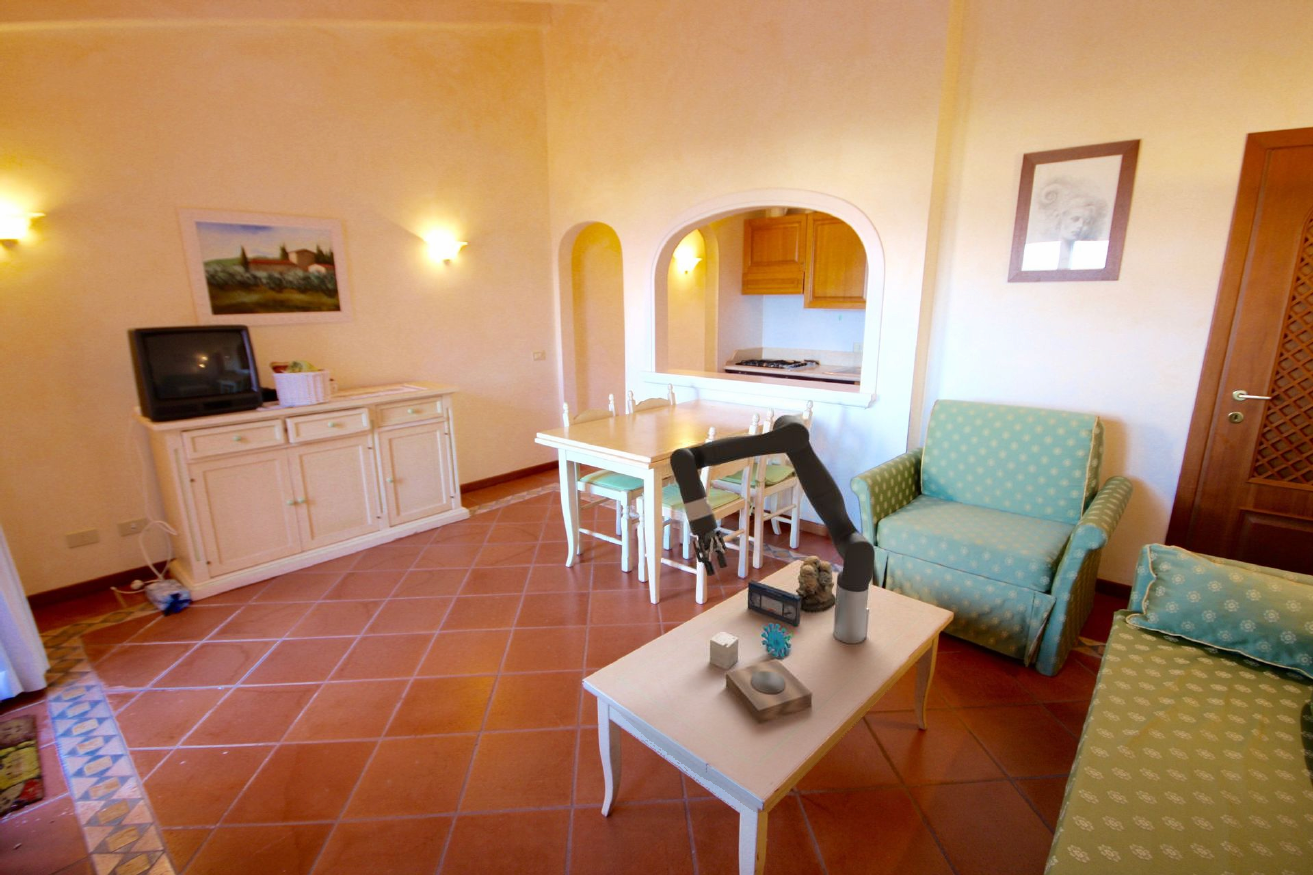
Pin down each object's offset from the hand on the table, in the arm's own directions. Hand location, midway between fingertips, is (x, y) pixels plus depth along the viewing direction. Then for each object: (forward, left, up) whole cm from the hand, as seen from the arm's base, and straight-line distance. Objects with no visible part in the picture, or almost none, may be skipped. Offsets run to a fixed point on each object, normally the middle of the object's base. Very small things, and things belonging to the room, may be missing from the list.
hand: (718, 571), depth 165 cm
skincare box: (-1, +2, -28) cm, 28 cm away
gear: (-18, +4, -28) cm, 34 cm away
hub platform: (-4, +20, -27) cm, 34 cm away
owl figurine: (-46, -15, -28) cm, 56 cm away
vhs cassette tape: (-28, -13, -28) cm, 42 cm away
